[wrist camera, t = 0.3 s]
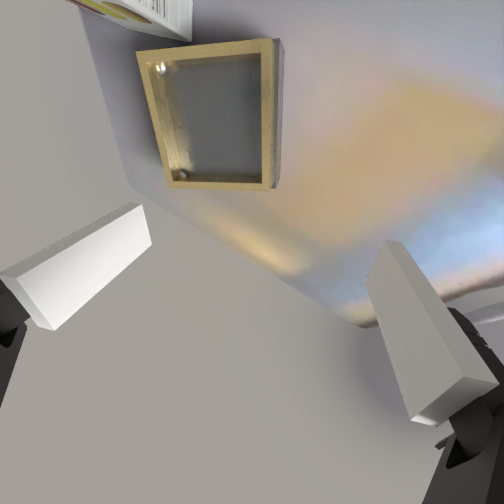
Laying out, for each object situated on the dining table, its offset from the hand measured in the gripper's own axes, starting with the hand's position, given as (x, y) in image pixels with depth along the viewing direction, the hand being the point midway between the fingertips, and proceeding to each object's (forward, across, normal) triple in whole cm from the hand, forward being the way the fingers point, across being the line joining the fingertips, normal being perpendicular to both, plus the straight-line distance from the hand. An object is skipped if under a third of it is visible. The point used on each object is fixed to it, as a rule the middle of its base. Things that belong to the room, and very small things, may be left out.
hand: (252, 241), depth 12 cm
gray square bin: (+28, -10, +3) cm, 29 cm away
